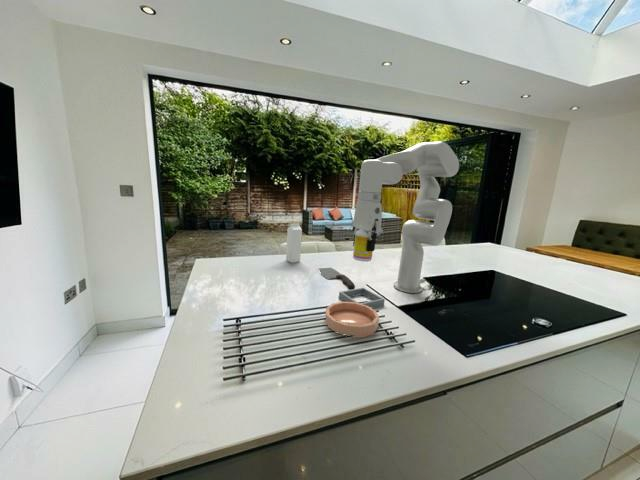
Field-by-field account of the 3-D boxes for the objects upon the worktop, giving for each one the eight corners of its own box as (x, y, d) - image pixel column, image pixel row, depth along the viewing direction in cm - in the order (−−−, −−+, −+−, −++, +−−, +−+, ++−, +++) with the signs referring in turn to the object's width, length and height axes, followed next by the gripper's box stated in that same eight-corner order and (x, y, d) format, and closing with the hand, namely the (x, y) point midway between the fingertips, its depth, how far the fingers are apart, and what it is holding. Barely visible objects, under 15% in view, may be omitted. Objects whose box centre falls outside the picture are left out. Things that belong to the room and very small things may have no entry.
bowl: (355, 307, 101) (356, 298, 100) (388, 329, 86) (389, 319, 86) (316, 316, 92) (316, 306, 91) (345, 342, 78) (346, 331, 77)
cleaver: (359, 288, 120) (359, 284, 120) (340, 290, 116) (340, 286, 116) (330, 269, 146) (330, 265, 146) (314, 270, 142) (314, 266, 142)
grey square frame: (363, 293, 115) (363, 287, 114) (383, 305, 104) (384, 299, 104) (338, 297, 108) (339, 291, 108) (358, 311, 98) (359, 304, 97)
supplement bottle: (371, 263, 92) (375, 226, 90) (351, 260, 93) (355, 224, 91) (371, 258, 99) (376, 223, 96) (353, 256, 100) (357, 221, 97)
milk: (285, 260, 155) (287, 222, 150) (294, 259, 159) (296, 222, 154) (291, 263, 150) (293, 224, 146) (300, 261, 154) (302, 223, 150)
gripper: (395, 200, 86) (388, 254, 90) (361, 196, 101) (356, 242, 104) (378, 199, 83) (371, 255, 86) (345, 195, 97) (340, 243, 101)
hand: (363, 248), depth 95 cm, fingers closed on supplement bottle, 6 cm apart
